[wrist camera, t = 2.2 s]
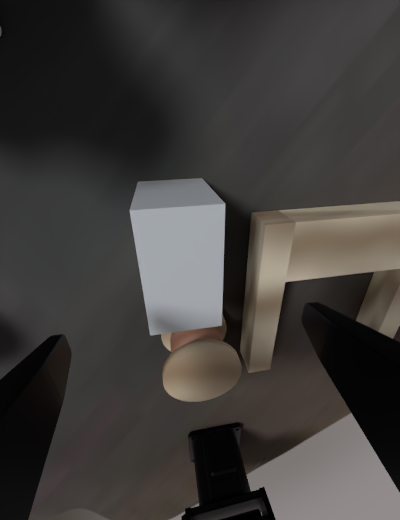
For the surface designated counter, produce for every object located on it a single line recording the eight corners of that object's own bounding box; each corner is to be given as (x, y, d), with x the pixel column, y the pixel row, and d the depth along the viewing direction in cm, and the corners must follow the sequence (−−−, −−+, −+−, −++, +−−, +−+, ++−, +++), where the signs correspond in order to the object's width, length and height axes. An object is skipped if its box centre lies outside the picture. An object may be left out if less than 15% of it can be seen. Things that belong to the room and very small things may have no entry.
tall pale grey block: (203, 271, 19) (222, 325, 14) (151, 276, 19) (150, 335, 13) (201, 178, 16) (225, 203, 10) (138, 181, 15) (129, 210, 10)
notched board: (367, 331, 26) (387, 349, 24) (240, 350, 24) (248, 372, 22) (423, 199, 19) (458, 208, 17) (251, 212, 17) (265, 224, 15)
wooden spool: (223, 344, 23) (239, 394, 19) (164, 353, 22) (166, 407, 18) (225, 297, 20) (244, 343, 16) (157, 305, 20) (158, 355, 15)
